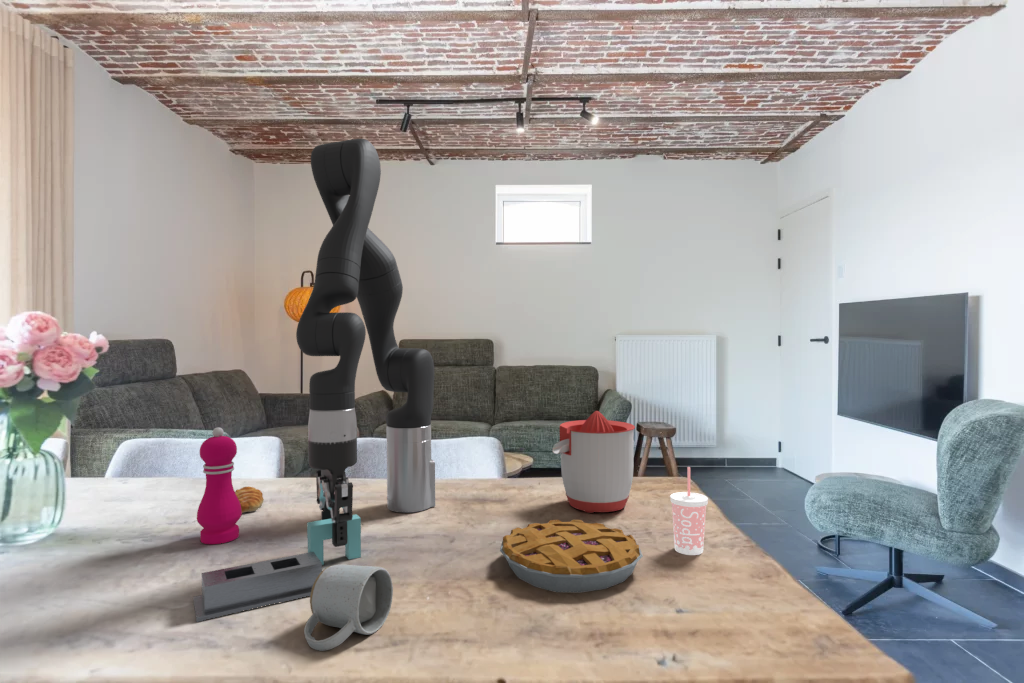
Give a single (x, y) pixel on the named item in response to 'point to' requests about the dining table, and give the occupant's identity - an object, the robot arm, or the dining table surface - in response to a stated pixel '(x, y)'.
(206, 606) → the grey hollow block
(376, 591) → the ceramic mug
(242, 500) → the pastry
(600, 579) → the pie
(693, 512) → the beverage cup
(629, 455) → the citrus juicer
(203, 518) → the pepper mill
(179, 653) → the dining table surface
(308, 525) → the clip
